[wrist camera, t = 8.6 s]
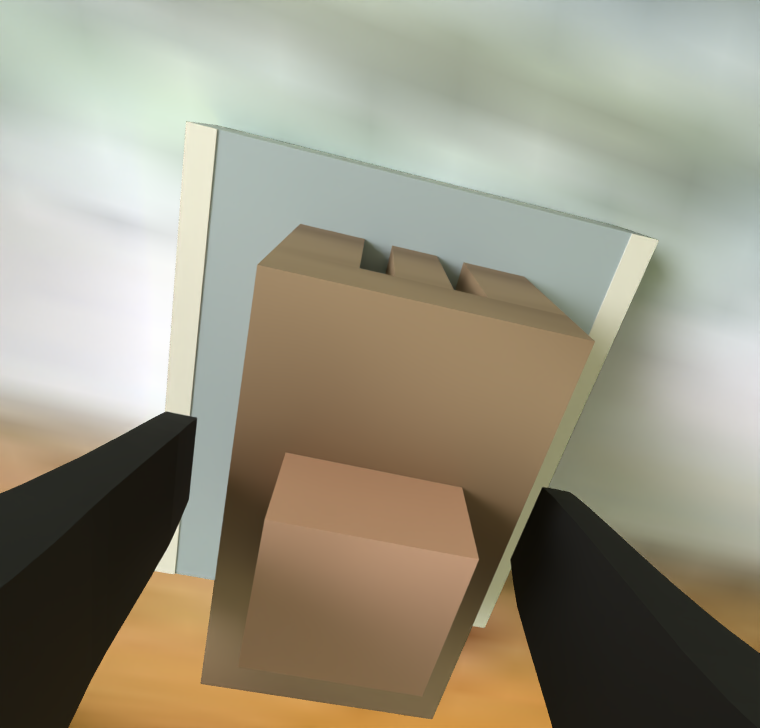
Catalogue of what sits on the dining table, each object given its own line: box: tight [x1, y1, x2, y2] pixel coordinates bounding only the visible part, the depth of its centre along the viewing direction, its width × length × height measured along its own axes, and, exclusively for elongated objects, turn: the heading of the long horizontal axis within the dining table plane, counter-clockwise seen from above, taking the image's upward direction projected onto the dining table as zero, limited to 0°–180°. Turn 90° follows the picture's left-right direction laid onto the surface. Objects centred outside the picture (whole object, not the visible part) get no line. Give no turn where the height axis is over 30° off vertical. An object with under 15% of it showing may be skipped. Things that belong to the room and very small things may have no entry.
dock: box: [155, 121, 659, 628], centre depth 14 cm, size 12×10×2 cm
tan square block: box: [238, 453, 479, 696], centre depth 8 cm, size 3×3×2 cm
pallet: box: [201, 224, 595, 719], centre depth 11 cm, size 9×5×4 cm, turn 167°
